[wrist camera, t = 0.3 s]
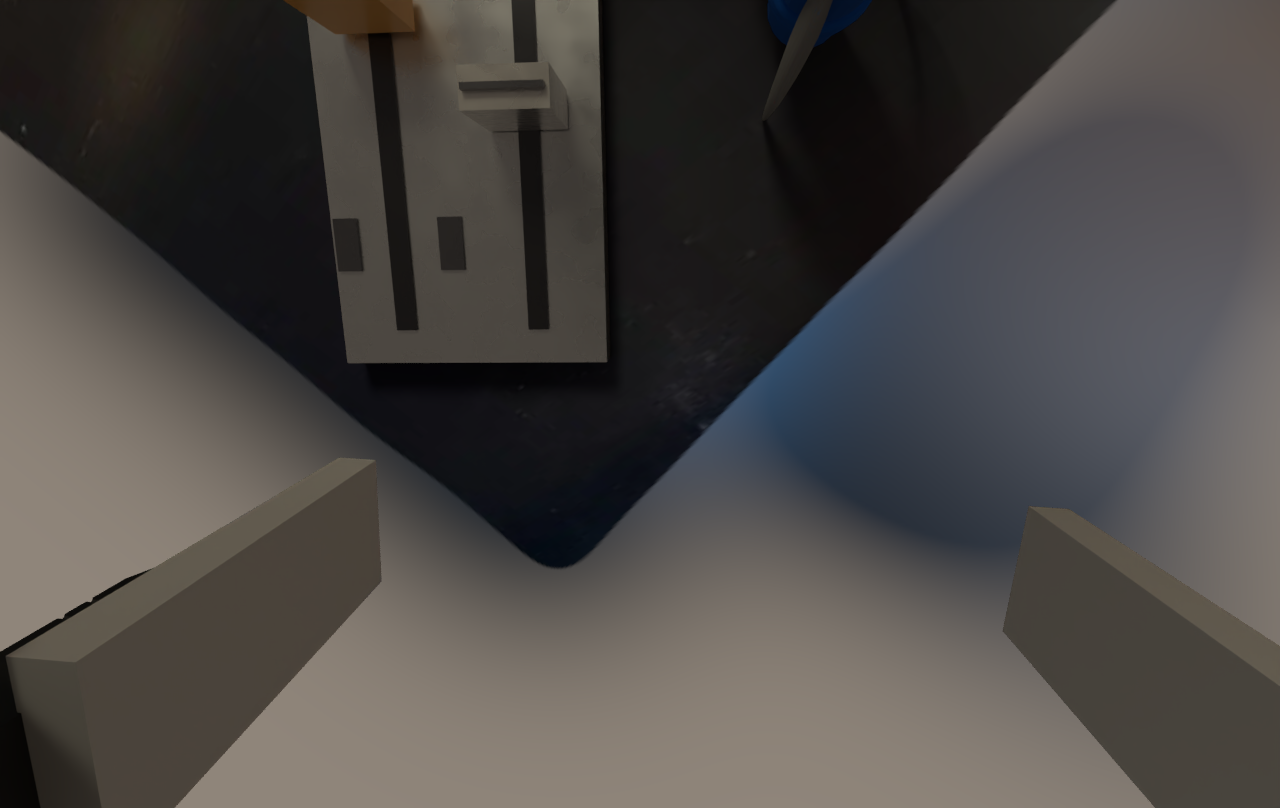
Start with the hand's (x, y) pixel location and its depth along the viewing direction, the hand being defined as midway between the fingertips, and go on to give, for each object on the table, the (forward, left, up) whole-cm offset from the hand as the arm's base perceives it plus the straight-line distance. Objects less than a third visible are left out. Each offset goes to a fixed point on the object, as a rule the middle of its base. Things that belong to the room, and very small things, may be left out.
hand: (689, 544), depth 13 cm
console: (-12, -13, -27) cm, 32 cm away
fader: (-19, -17, -25) cm, 35 cm away
